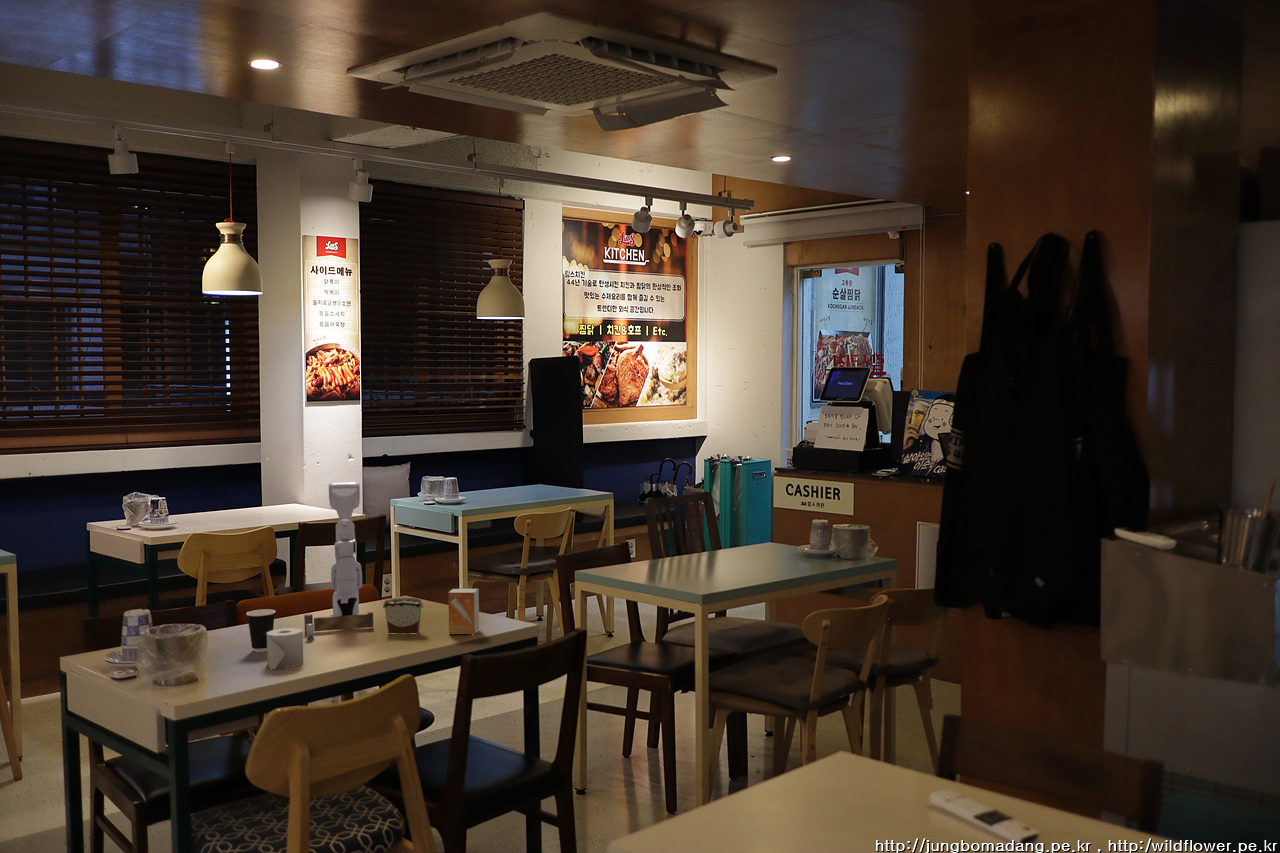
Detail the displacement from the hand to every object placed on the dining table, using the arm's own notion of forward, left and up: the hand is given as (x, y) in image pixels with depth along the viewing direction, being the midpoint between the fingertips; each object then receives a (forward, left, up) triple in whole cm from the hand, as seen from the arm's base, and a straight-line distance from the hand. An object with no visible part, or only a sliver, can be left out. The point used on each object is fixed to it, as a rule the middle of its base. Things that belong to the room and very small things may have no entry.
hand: (347, 622), depth 339 cm
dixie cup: (+11, -30, -2) cm, 32 cm away
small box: (+29, +25, -2) cm, 39 cm away
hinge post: (-2, -12, -2) cm, 12 cm away
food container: (+16, +12, -2) cm, 21 cm away
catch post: (+7, -14, -2) cm, 16 cm away
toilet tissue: (+32, -30, -2) cm, 44 cm away
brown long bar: (+2, -2, -1) cm, 3 cm away
